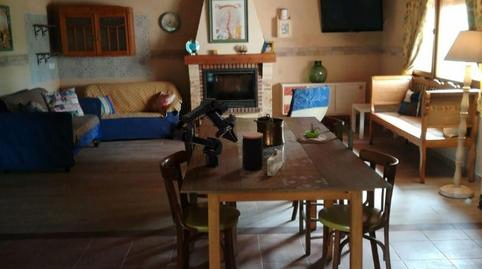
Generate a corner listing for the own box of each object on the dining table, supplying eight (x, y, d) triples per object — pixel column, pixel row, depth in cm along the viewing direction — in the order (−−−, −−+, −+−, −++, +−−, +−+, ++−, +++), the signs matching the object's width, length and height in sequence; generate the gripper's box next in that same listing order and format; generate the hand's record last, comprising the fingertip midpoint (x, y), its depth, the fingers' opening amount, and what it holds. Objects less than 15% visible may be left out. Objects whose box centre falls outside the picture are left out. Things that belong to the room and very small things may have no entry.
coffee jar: (248, 164, 250) (248, 131, 246) (266, 166, 245) (266, 133, 241) (238, 169, 241) (238, 135, 237) (256, 172, 236) (256, 137, 232)
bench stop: (267, 175, 231) (267, 153, 228) (276, 164, 249) (277, 144, 247) (273, 176, 230) (273, 154, 227) (282, 164, 248) (282, 144, 246)
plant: (326, 137, 312) (327, 120, 310) (328, 144, 293) (329, 126, 291) (296, 136, 314) (296, 120, 312) (296, 143, 295) (297, 126, 293)
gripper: (220, 112, 232) (241, 135, 231) (232, 106, 249) (252, 127, 248) (206, 127, 236) (226, 149, 235) (218, 120, 253) (238, 141, 252)
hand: (236, 141), depth 243 cm, fingers open, 3 cm apart
